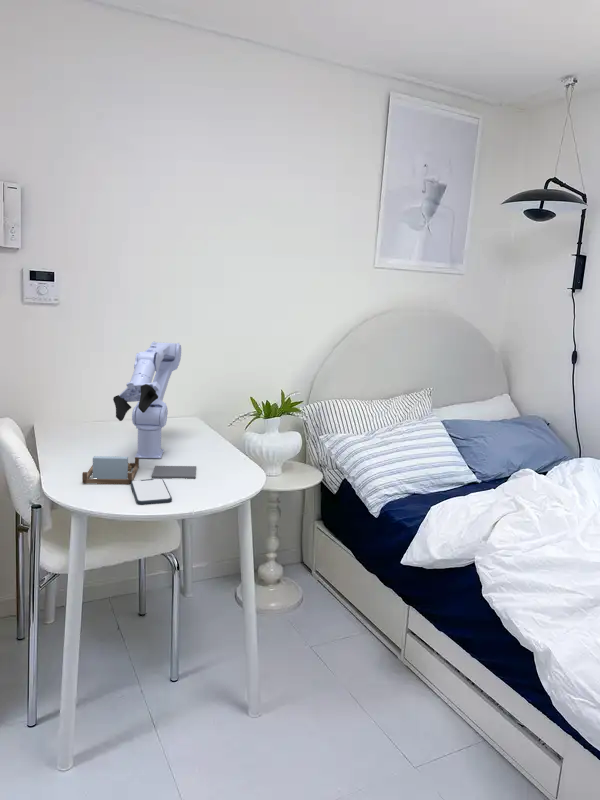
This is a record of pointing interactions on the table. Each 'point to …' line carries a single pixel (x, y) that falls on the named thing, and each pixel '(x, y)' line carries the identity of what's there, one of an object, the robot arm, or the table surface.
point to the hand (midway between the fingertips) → (130, 414)
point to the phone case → (150, 491)
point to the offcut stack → (129, 467)
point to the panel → (110, 467)
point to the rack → (112, 481)
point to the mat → (174, 472)
